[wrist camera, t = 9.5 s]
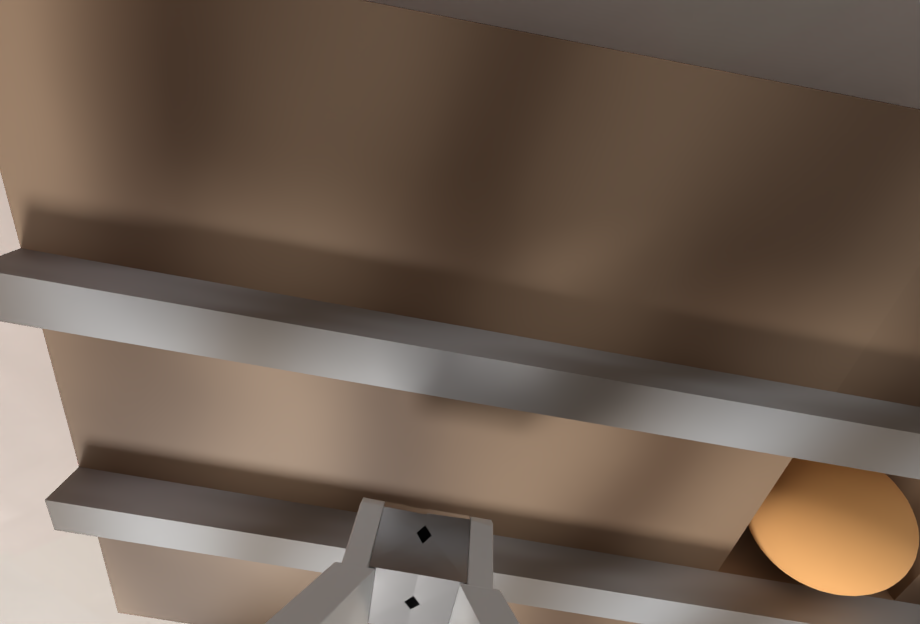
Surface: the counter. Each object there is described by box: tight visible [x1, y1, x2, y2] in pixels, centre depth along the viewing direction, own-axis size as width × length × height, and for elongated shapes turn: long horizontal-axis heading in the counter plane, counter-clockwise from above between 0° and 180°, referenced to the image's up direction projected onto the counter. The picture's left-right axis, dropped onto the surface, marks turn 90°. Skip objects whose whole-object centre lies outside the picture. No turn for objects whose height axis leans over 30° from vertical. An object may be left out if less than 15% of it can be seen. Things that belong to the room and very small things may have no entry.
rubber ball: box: [748, 458, 919, 596], centre depth 14 cm, size 4×4×4 cm
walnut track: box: [0, 0, 920, 624], centre depth 14 cm, size 28×20×4 cm
